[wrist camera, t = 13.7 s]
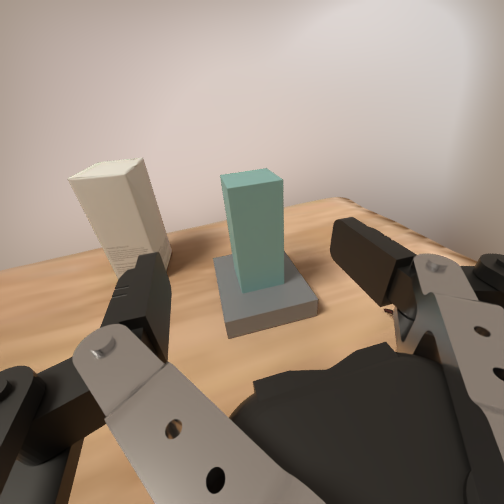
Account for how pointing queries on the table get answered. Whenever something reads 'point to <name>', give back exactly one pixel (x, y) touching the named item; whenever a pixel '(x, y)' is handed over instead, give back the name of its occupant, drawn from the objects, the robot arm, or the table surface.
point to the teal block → (255, 227)
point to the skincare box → (122, 211)
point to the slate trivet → (262, 300)
